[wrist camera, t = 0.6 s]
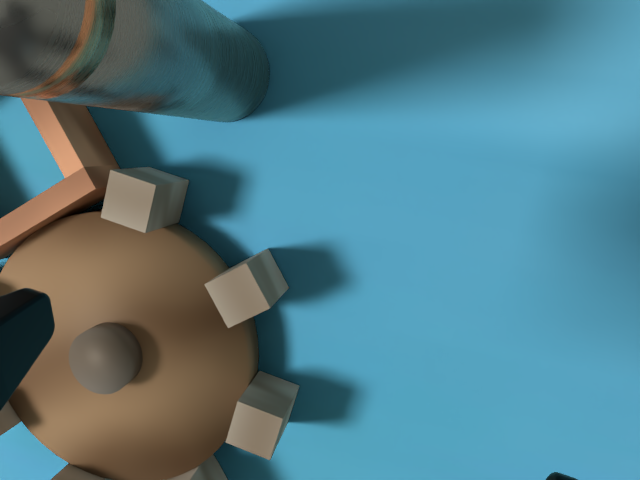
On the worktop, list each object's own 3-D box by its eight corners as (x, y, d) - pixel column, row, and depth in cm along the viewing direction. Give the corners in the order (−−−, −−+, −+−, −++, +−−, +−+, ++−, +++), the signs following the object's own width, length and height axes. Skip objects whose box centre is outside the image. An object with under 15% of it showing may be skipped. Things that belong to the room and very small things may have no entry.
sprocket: (365, 432, 24) (357, 472, 21) (84, 540, 28) (45, 586, 25) (118, -33, 22) (73, -60, 19) (-141, 156, 26) (-211, 158, 23)
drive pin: (240, 139, 22) (9, 131, 10) (164, 90, 23) (-156, 21, 10) (287, 56, 21) (96, -73, 9) (207, 5, 22) (-89, -191, 9)
